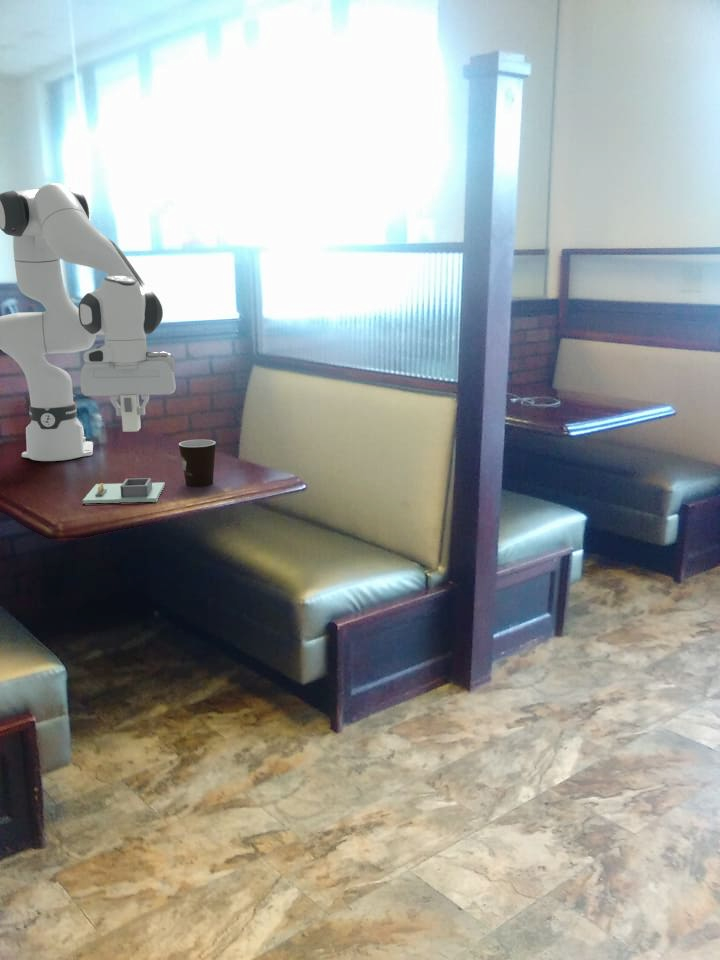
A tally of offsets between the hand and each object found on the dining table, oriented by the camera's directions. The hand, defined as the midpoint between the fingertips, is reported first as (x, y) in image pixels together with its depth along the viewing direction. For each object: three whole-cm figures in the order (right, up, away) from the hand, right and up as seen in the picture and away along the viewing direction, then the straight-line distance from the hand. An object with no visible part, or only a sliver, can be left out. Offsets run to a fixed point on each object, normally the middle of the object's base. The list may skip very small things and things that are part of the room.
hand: (130, 415), depth 194 cm
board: (-3, -18, +7) cm, 19 cm away
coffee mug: (+12, -15, +17) cm, 26 cm away
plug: (0, -3, +1) cm, 3 cm away
